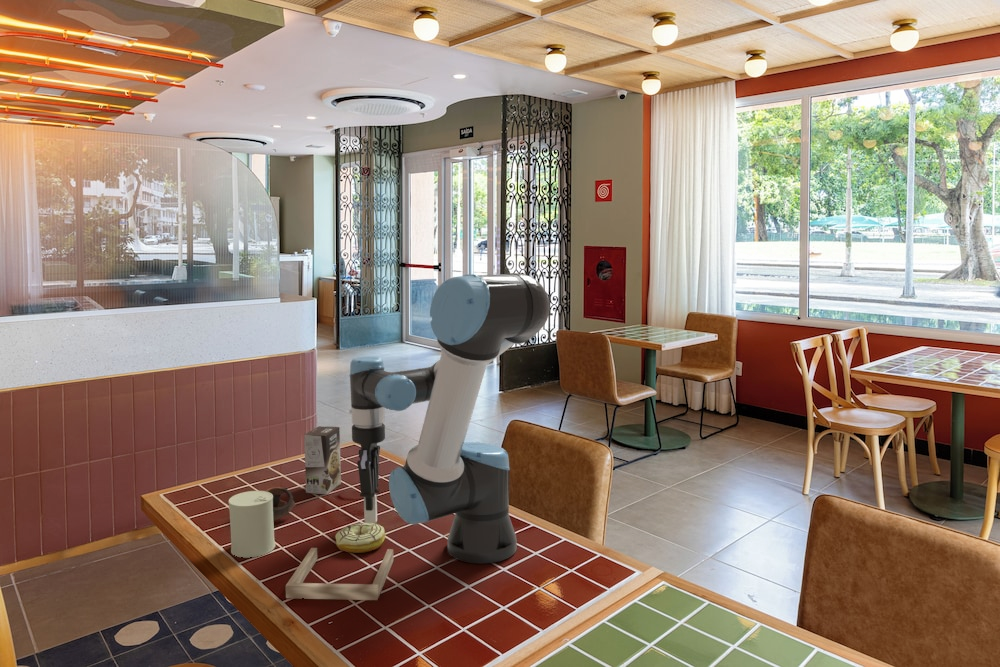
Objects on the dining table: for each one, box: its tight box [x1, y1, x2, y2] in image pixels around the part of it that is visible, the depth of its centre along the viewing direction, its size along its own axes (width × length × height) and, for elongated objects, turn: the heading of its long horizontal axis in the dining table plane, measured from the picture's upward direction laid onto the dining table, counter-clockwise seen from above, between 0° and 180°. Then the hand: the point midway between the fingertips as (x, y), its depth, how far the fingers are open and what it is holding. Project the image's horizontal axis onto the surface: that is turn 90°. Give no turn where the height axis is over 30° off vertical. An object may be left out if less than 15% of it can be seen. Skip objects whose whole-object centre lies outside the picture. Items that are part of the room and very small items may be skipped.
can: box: [228, 490, 276, 559], centre depth 153 cm, size 9×9×12 cm
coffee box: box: [303, 425, 342, 495], centre depth 189 cm, size 9×6×16 cm
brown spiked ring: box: [265, 486, 297, 521], centre depth 171 cm, size 12×10×8 cm
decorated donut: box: [335, 522, 386, 554], centre depth 156 cm, size 10×11×4 cm
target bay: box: [284, 547, 395, 601], centre depth 140 cm, size 17×16×2 cm
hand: (370, 521), depth 166 cm, fingers closed
